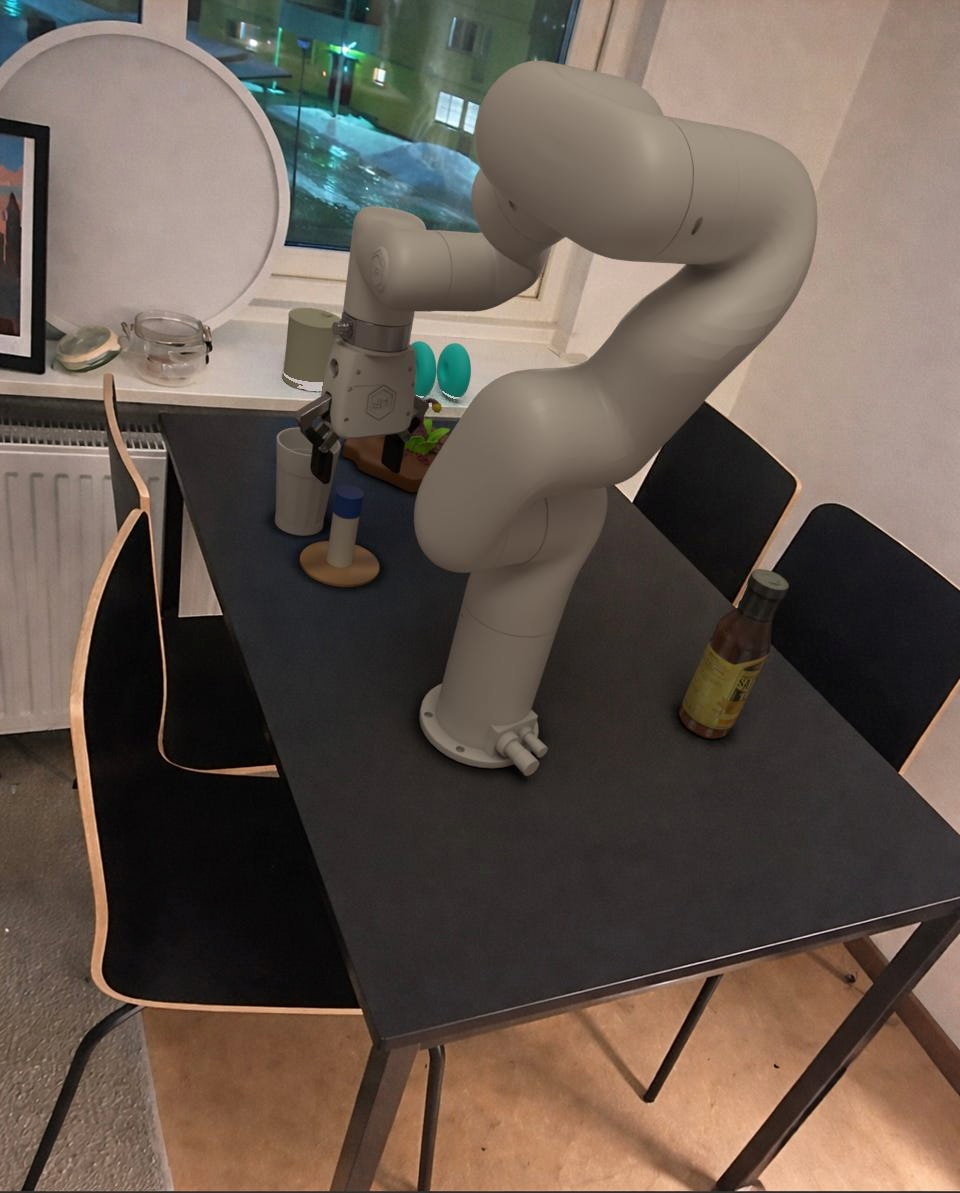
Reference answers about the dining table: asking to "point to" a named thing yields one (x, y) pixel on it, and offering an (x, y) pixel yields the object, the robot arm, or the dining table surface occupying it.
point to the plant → (415, 454)
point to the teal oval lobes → (442, 369)
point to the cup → (300, 485)
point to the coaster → (352, 576)
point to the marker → (344, 525)
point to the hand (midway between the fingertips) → (356, 473)
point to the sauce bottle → (733, 658)
